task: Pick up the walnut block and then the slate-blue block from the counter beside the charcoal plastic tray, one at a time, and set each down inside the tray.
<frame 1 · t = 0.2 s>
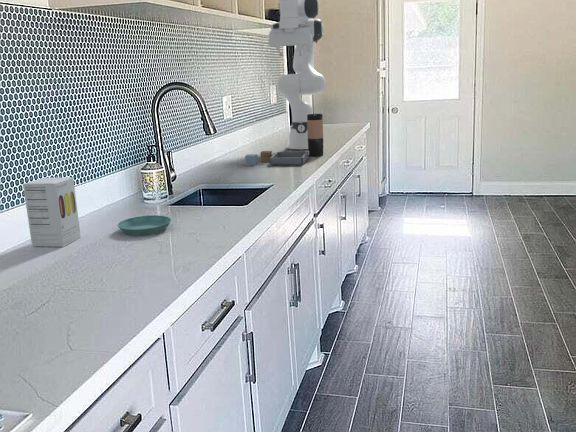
hand: (290, 55, 275), 48 cm above the worktop, tool pointing down, fingers open, 8 cm apart
supplement box: (57, 242, 157), on the worktop
walnut block: (266, 161, 278), on the worktop
travel mug: (316, 156, 288), on the worktop
saucer: (145, 231, 165), on the worktop
charcoal tray: (289, 162, 271), on the worktop
slate block: (251, 164, 269), on the worktop
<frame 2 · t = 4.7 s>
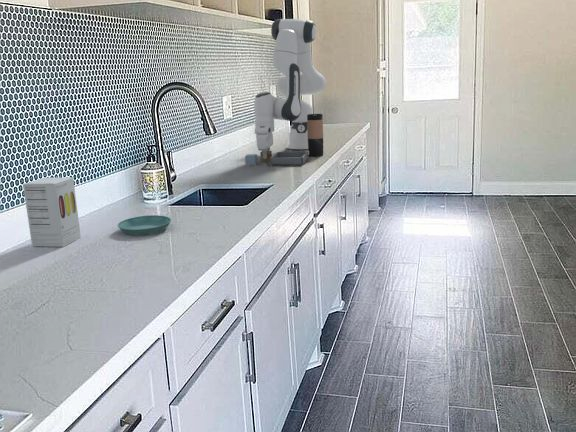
hand: (266, 157, 277), 2 cm above the worktop, tool pointing down, fingers closed on walnut block, 4 cm apart
walnut block: (266, 160, 278), on the worktop, touching gripper
everything else where it was.
when the fingers open (4 cm above the worktop, at t = 9.9 s): walnut block drops 1 cm, resting on charcoal tray.
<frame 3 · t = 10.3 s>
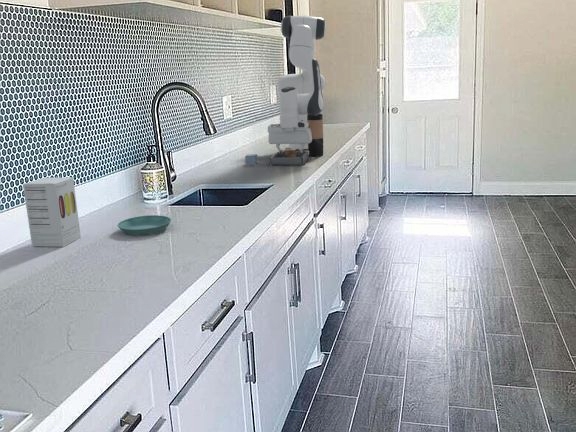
hand: (290, 153, 274), 4 cm above the worktop, tool pointing down, fingers open, 8 cm apart
walnut block: (290, 159, 274), point 1 cm above the worktop, touching charcoal tray
everything else where it was.
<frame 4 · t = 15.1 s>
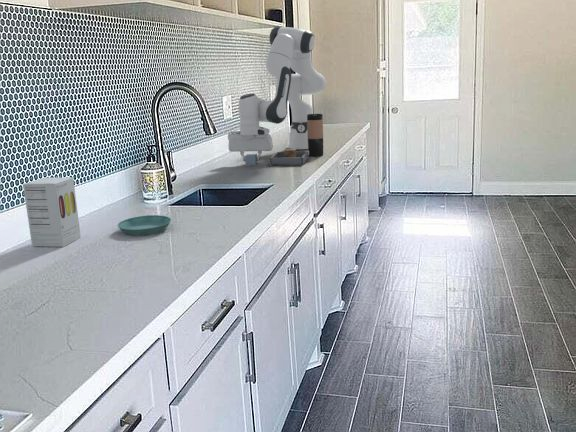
hand: (251, 161, 269), 2 cm above the worktop, tool pointing down, fingers closed on slate block, 4 cm apart
slate block: (251, 164, 269), on the worktop, touching gripper
everything else where it was.
when the fingers open (4 cm above the worktop, at t = 20.6 s): slate block drops 1 cm, resting on charcoal tray.
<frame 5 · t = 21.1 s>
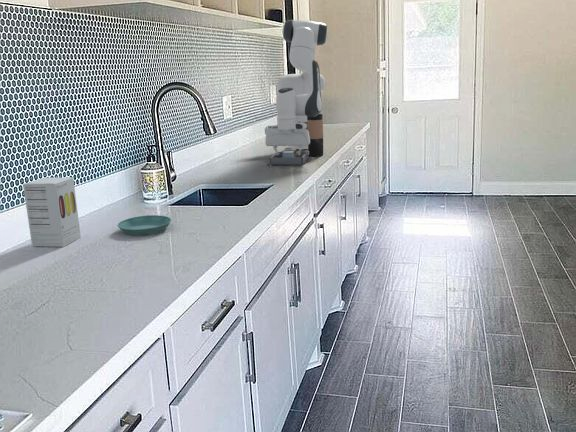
hand: (288, 155, 267), 4 cm above the worktop, tool pointing down, fingers open, 8 cm apart
slate block: (288, 161, 268), point 1 cm above the worktop, touching charcoal tray
everything else where it was.
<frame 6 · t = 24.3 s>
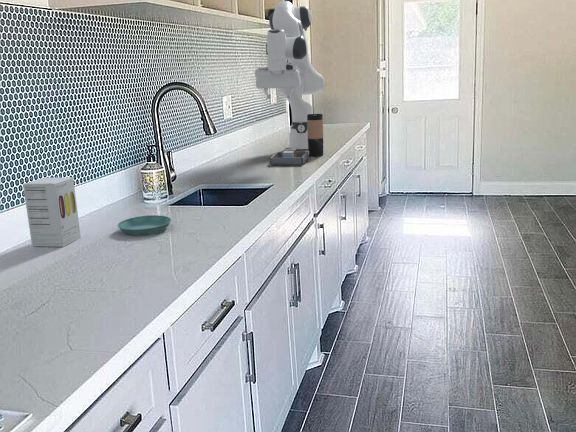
hand: (278, 98, 265), 29 cm above the worktop, tool pointing down, fingers open, 8 cm apart
nothing on the worktop moved.
at the end: walnut block inside the target area on the charcoal tray (3.5 cm from its centre), point 0.8 cm above the charcoal tray's base; slate block inside the target area on the charcoal tray (3.5 cm from its centre), point 0.8 cm above the charcoal tray's base; the gripper is holding nothing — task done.
